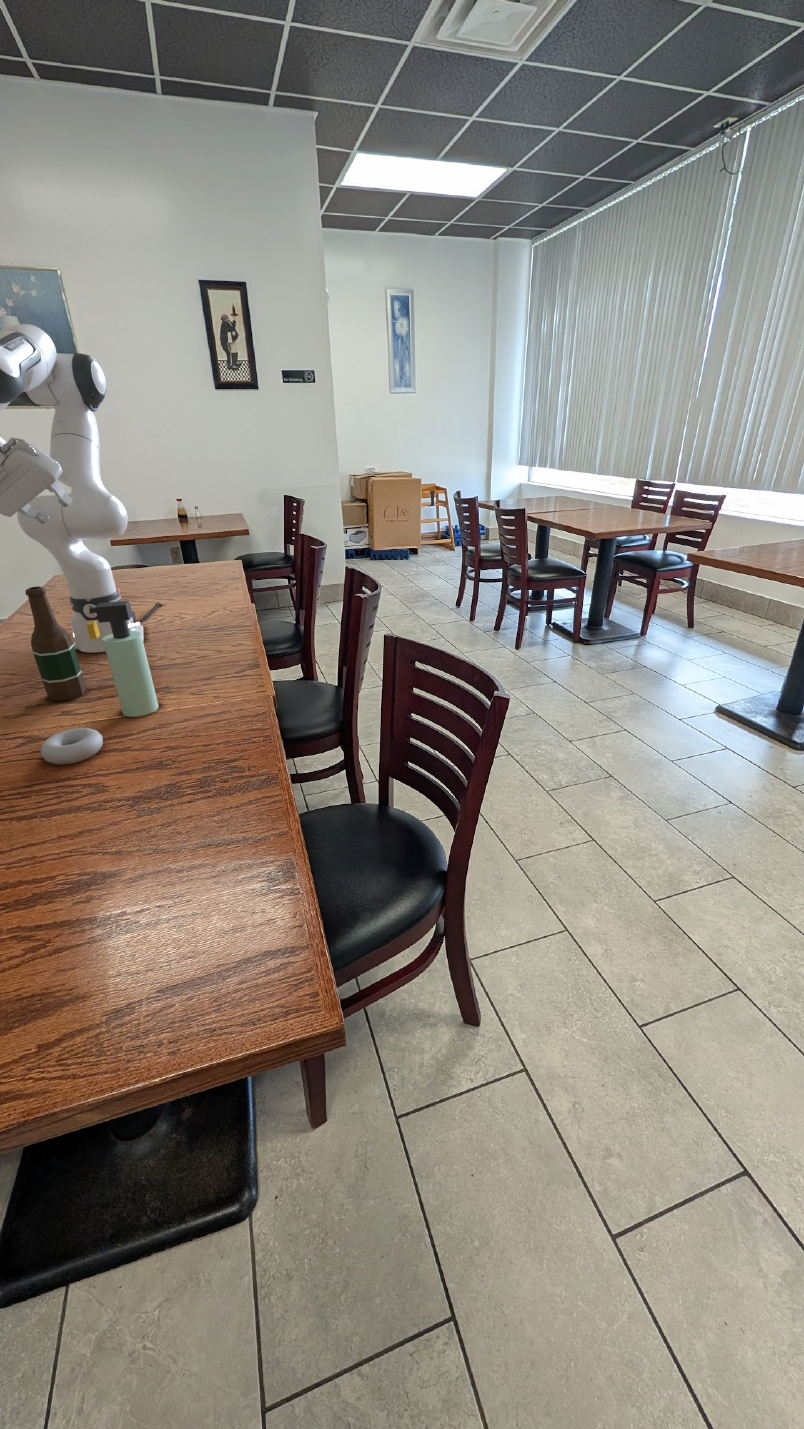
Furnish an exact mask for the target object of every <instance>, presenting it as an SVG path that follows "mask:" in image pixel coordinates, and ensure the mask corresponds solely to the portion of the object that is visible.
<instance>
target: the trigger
mask: <svg viewBox="0 0 804 1429" xmlns="http://www.w3.org/2000/svg"><path fill="white" fill-rule="evenodd" d="M86 625H87V629H88V632H89V636H90V639H97V638H98V637H99V636H100V632H99V629H98V625H97V621H96V620H95V621H89V622H88V623H87V624H86Z"/></svg>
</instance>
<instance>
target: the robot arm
mask: <svg viewBox="0 0 804 1429" xmlns="http://www.w3.org/2000/svg"><path fill="white" fill-rule="evenodd" d="M107 391H108V385H107V378H106V375H105V372H104V369H103V367H102V366H101V364H100V363H99V361H98V360H97V359H96V358H95V357H94V356H92V355H89V354H86V353H79V352H75V353H74V354H73V353H63V352H62V353H61V352H59V353H58V352H57V349H56V345H55V343H54V341H53V340H52V338H51V337H50V336H49V335H48V334H47V333H46V331H44V330H43V329H42V328H40V327H38V326H36V325H34V324H30V323H19V324H14V325H11V326H7V327H5V328H3V329H1V330H0V414H1V413H2V412H3V411H4V410H5V409H6V408H7V406H8V405H9V404H10V403H12V402H13V401H14V400H15V399H17V400H18V401H20V402H21V403H22V404H24V405H28V406H33V407H41V406H45V407H46V406H47V407H53V408H54V414H53V419H52V423H51V430H50V443H49V446H50V447H49V455H48V454H46V453H45V452H43V451H42V450H41V449H39V448H38V447H36V446H34V445H33V444H31V443H29V442H27V441H26V440H25V439H23V438H18V437H10V438H9V439H8V440H7V441H6V439H3V437H1V436H0V515H2V516H4V517H8V518H11V517H13V516H14V515H16V516H17V522H18V525H19V527H20V529H21V530H22V532H23V533H24V534H25V535H26V536H27V537H28V538H30V539H32V540H34V541H35V542H37V543H39V545H42V546H43V547H44V548H45V549H46V550H47V551H48V552H49V553H50V555H52V556H53V558H54V559H55V561H56V562H57V563H58V565H59V567H60V570H61V571H62V573H63V576H64V579H65V582H66V585H67V588H68V592H69V594H70V597H69V603H70V606H71V608H72V609H71V610H72V611H73V614H72V615H71V617H70V618H69V621H70V627H71V631H72V636H73V641H72V642H73V645H74V648H75V650H78V651H81V652H82V653H93V654H94V653H106V650H105V646H104V643H103V638H104V637H105V636H107V635H110V634H113V633H112V629H111V625H110V622H102V623H99V620H98V617H97V613H90V611H89V608H94V607H96V606H97V605H98V604H99V603H108V602H121V601H123V600H122V597H121V590H120V589H119V587H116V583H115V579H114V575H113V571H112V567H111V564H110V563H109V562H108V560H107V559H106V558H105V557H103V556H101V555H99V554H96V553H94V552H93V551H91V550H89V548H88V547H87V546H86V545H85V544H84V542H83V541H97V540H98V541H99V540H108V539H111V538H115V537H120V536H122V535H124V533H125V532H126V530H127V527H128V523H129V515H128V512H127V509H126V507H125V505H124V504H123V502H121V500H120V499H119V498H118V497H117V496H116V495H113V494H112V493H110V491H108V489H107V488H106V487H105V485H104V483H103V481H102V478H101V464H100V462H101V461H100V459H101V458H100V457H101V456H100V455H101V454H100V453H101V452H100V451H101V450H100V447H101V445H100V434H99V433H100V432H99V427H98V422H97V418H96V416H95V414H94V413H93V412H96V411H98V410H100V407H101V403H102V402H103V401H104V400H105V397H106V394H107ZM61 483H62V484H63V485H64V486H67V487H69V488H71V491H70V493H68V494H67V493H66V491H65V489H64V488H63V486H62V484H61ZM45 490H47V491H48V492H50V493H54V495H53V494H51V495H41V494H42V493H43V492H45ZM157 607H163V604H162V603H160V602H156V603H155V604H154V606H153V607H152V608H151V609H150V610H149V611H148V612H147V613H146V614H145V615H144V616H143V617H142V618H141V619H140V620H139V621H136V619H137V617H136V613H135V610H132V614H133V616H132V617H131V619H130V620H127V624H128V628H129V631H138V632H140V633H141V635H142V639H143V642H144V640H145V639H144V637H145V636H144V634H145V633H144V626H143V624H141V623H142V622H144V621H145V620H146V619H147V618H148V617H150V616H151V615H152V613H153V612H154V611H155V610H156V609H157ZM95 620H96V621H97V625H98V629H99V632H100V636H99V637H98V638H97V639H90V636H89V632H88V629H87V625H86V624H87V623H88V622H89V621H95Z"/></svg>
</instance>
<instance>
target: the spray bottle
mask: <svg viewBox="0 0 804 1429" xmlns="http://www.w3.org/2000/svg"><path fill="white" fill-rule="evenodd" d="M89 611H90V613H97V617H98V620H99V623H102V622H110V625H111V629H112V633H113V634H110V635H107V636H105V637H104V638H103V643H104V646H105V650H106V652H105V653H106V657H107V661H108V664H109V668H110V672H111V676H112V679H113V682H114V688H115V691H116V695H117V698H118V701H119V706H120V708H121V713H122V715H123V716H125V717H127V718H137V717H138V718H140V717H143V716H147V715H150V714H152V713H154V712H156V711H157V710H158V709H159V702H158V698H157V694H156V690H155V685H154V682H153V678H152V672H151V668H150V666H149V664H150V663H149V661H148V656H147V653H146V648H145V645H144V644H145V643H144V641H143V639H142V635H141V633H140V632H138V631H129V628H128V624H127V620H130V619H131V617H132V616H133V614H132V611H133V610H132V607H131V602H130V600H122V601H121V602H108V603H99V604H98V605H97V606H96V607H94V608H89Z"/></svg>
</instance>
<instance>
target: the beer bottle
mask: <svg viewBox="0 0 804 1429" xmlns="http://www.w3.org/2000/svg"><path fill="white" fill-rule="evenodd" d="M46 593H47V590H46V588H45V587H44V586H39V585H37V586H32V587H31V586H30V587H28V588H27V589H25V595H26V596H27V598H28V602H29V606H30V610H31V615H32V618H33V623H34V629H33V631H32V634H31V638H30V645H31V650H32V653H33V657H34V660H35V663H36V666H37V669H38V672H39V674H40V678H41V681H42V684H43V687H44V690H45V693H46V695H47V698H48V699H50V700H52V701H54V702H62V701H71V700H74V699H76V698H79V697H81V696H83V694H84V693H85V692H86V691H87V687H86V683H85V679H84V674H83V672H82V671H83V670H82V669H81V665H80V661H79V659H78V655H77V652H76V649H75V648H74V645H73V642H74V641H73V640H72V638H71V635H70V634H69V632H68V631H67V630H66V629H65V628H64V627H62V625H60V624H59V623H58V621H57V619H56V617H55V614H54V612H53V610H52V607H51V605H50V602H49V599H48V596H47V594H46Z"/></svg>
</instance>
